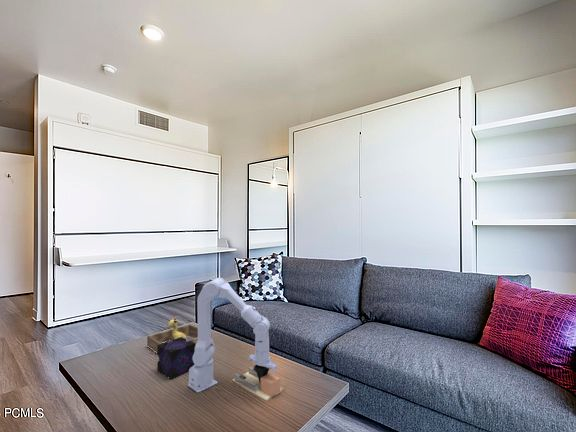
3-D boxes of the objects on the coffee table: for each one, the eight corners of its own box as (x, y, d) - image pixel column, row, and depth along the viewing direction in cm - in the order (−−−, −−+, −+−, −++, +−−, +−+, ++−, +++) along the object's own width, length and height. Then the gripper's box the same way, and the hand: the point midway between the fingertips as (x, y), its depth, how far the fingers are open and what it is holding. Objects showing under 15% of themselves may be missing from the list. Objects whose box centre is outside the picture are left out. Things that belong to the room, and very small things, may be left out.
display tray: (167, 360, 146) (167, 348, 146) (147, 347, 162) (147, 336, 162) (211, 344, 165) (211, 333, 165) (189, 334, 180) (189, 324, 180)
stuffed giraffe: (161, 342, 167) (162, 314, 167) (194, 338, 174) (195, 311, 174) (162, 355, 152) (163, 324, 152) (198, 349, 160) (199, 320, 159)
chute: (266, 401, 112) (266, 391, 112) (232, 381, 126) (232, 372, 127) (284, 389, 120) (284, 380, 120) (250, 372, 134) (250, 364, 134)
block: (271, 396, 114) (271, 383, 114) (260, 390, 118) (260, 378, 118) (280, 391, 118) (280, 378, 118) (269, 385, 122) (269, 373, 122)
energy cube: (181, 361, 145) (181, 336, 145) (195, 369, 137) (195, 343, 138) (157, 371, 136) (157, 345, 136) (171, 380, 128) (171, 352, 128)
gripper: (281, 351, 119) (282, 385, 119) (257, 341, 129) (257, 373, 129) (269, 357, 114) (269, 393, 114) (244, 346, 124) (245, 379, 124)
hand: (262, 383), depth 121 cm, fingers closed
